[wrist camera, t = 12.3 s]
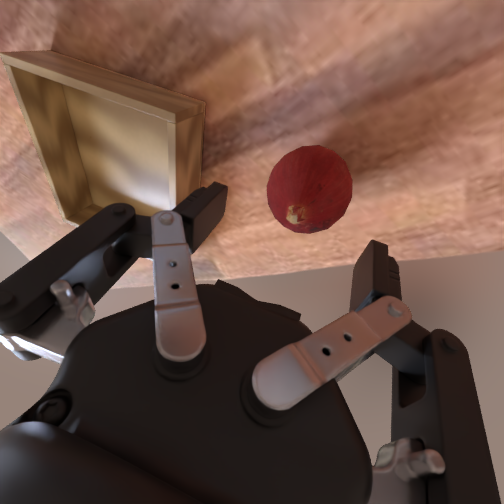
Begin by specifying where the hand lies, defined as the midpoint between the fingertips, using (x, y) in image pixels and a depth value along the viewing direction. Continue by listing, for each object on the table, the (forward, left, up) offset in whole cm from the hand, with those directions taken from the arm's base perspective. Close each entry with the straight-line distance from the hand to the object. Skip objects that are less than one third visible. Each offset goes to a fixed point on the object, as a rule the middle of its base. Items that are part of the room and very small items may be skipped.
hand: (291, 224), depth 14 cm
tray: (+6, -18, -9) cm, 21 cm away
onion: (+1, 0, -9) cm, 9 cm away
